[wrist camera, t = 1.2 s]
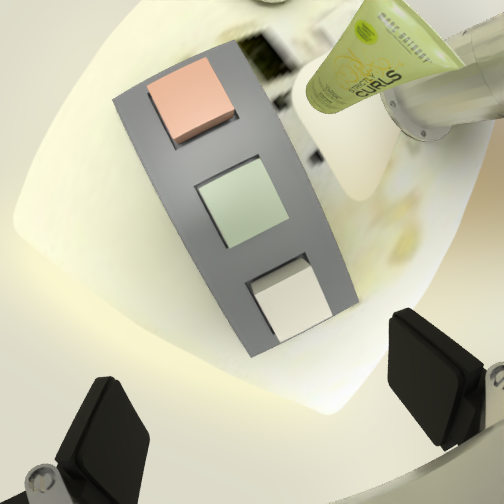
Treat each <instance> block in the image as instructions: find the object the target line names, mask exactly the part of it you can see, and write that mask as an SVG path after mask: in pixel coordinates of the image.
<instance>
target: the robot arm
mask: <svg viewBox="0 0 504 504" xmlns="http://www.w3.org/2000/svg"><path fill="white" fill-rule="evenodd" d="M444 41H445V42H446V43H447V44H448V45H449V46H450V48H451V49H452V50H453V51H454V52H455V53H456V55H457V56H458V57H459V58H460V59H461V60H462V61H463V63H464V64H465V65H466V67H464V68H461V69H459V70H454V71H447V72H443V73H438V74H434V75H430V76H427V77H423V78H420V79H416V80H413V81H410V82H407V83H404V84H401V85H398V86H396V87H393V88H390V89H388V90H385V91H383V92H380V95H381V98H382V101H383V104H384V106H385V108H386V110H387V112H388V114H389V115H390V117H391V118H392V120H393V121H394V122H395V123H396V125H397V126H398V127H399V128H400V129H401V130H402V131H403V132H405V133H406V134H408V135H409V136H411V137H413V138H415V139H417V140H421V141H435V140H439V139H441V138H443V137H444V136H445V135H447V134H448V132H449V131H450V129H451V128H452V125H458V124H464V123H471V122H477V121H484V120H492V119H500V118H504V12H503V13H501V14H499V15H497V16H495V17H493V18H490V19H488V20H486V21H484V22H482V23H479V24H477V25H475V26H473V27H471V28H469V29H466V30H464V31H462V32H460V33H458V34H457V35H454V36H452V37H450V38H448V39H446V40H444ZM483 366H484V364H483V363H482V362H481V361H479V360H478V359H477V358H476V357H474V356H473V355H472V354H470V353H469V352H468V351H467V350H465V349H464V348H462V347H461V346H460V345H459V344H458V343H456V342H455V341H453V340H452V339H451V338H450V337H448V336H447V335H446V334H444V333H443V332H442V331H440V330H439V329H438V328H436V327H435V326H434V325H432V324H431V323H429V322H428V321H427V320H426V319H424V318H423V317H421V316H420V315H419V314H418V313H416V312H415V311H413V310H412V309H411V308H405V309H403V310H400V311H397V312H394V313H393V316H392V318H390V320H389V354H388V383H389V386H390V387H391V389H392V390H393V391H394V393H395V394H396V395H397V396H398V398H399V399H400V400H401V402H402V403H403V404H404V405H405V407H406V408H407V409H408V411H409V412H410V413H411V415H412V416H413V417H414V418H415V420H416V421H417V422H418V424H419V425H420V426H421V428H422V429H423V430H424V432H425V433H426V434H427V436H428V437H429V438H430V440H431V441H432V442H433V444H434V445H436V446H441V447H442V449H443V450H444V451H446V450H448V449H450V448H452V447H453V446H455V445H456V444H458V447H456V448H454V449H452V450H451V451H449V452H447V453H446V454H444V455H442V456H440V457H438V458H436V459H434V460H433V461H431V462H429V463H427V464H425V465H423V466H421V467H419V468H417V469H415V470H413V471H411V472H409V473H407V474H405V475H403V476H401V477H398V478H396V479H394V480H392V481H389V482H387V483H384V484H382V485H380V486H377V487H375V488H372V489H369V490H367V491H364V492H362V493H359V494H356V495H353V496H350V497H347V498H344V499H341V500H338V501H335V502H331V503H328V504H504V362H498V363H496V364H494V365H492V366H491V367H490V368H489V369H488V370H486V369H484V368H483ZM149 442H150V437H149V433H148V431H147V430H146V428H145V426H144V425H143V423H142V421H141V420H140V418H139V416H138V414H137V413H136V411H135V409H134V407H133V406H132V404H131V402H130V400H129V399H128V397H127V395H126V393H125V391H124V389H123V387H122V385H121V383H120V382H119V381H118V380H115V379H114V378H113V377H111V376H109V377H98V378H96V379H95V381H94V383H93V384H92V386H91V388H90V390H89V392H88V394H87V396H86V398H85V399H84V401H83V403H82V405H81V407H80V409H79V411H78V413H77V414H76V416H75V419H74V420H73V422H72V424H71V426H70V428H69V430H68V432H67V434H66V436H65V439H64V440H63V442H62V444H61V446H60V449H59V451H58V453H57V455H56V457H55V460H56V462H57V463H58V465H57V467H55V466H53V465H51V464H41V465H37V466H36V467H34V468H33V469H31V470H30V471H29V473H28V474H27V476H26V478H25V489H26V491H24V492H22V493H20V494H18V495H16V496H14V497H12V498H10V499H8V500H5V501H3V502H1V503H0V504H138V498H139V491H140V487H141V481H142V476H143V471H144V466H145V461H146V456H147V452H148V447H149Z"/></svg>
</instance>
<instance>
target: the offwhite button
mask: <svg viewBox="0 0 504 504" xmlns="http://www.w3.org/2000/svg"><path fill="white" fill-rule="evenodd" d="M251 286H252V289H253V292H254V295H255V297H256V299H257V301H258V303H259V305H260V306H261V308H262V310H263V312H264V314H265V316H266V317H267V319H268V321H269V323H270V325H271V327H272V328H273V330H274V332H275V334H276V336H277V338H278V339H279V341H280V343H281V342H283V341H285V340H287V339H289V338H291V337H293V336H295V335H297V334H299V333H301V332H303V331H305V330H307V329H308V328H310V327H312V326H314V325H316V324H318V323H320V322H322V321H324V320H325V319H327V318H329V317H331V316H333V315H332V313H331V310H330V308H329V306H328V303H327V301H326V299H325V296H324V294H323V292H322V289H321V287H320V285H319V282H318V280H317V278H316V276H315V273H314V271H313V269H312V267H311V265H310V264H309V263H308V262H306V261H305V260H304V259H303V258H302V257H301V258H299V259H297V260H295V261H293V262H291V263H289V264H287V265H285V266H283V267H281V268H279V269H278V270H276V271H274V272H272V273H270V274H268V275H266V276H264V277H262V278H260V279H258V280H256V281H254V282H252V283H251Z"/></svg>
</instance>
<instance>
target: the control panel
mask: <svg viewBox="0 0 504 504" xmlns="http://www.w3.org/2000/svg"><path fill="white" fill-rule="evenodd" d="M205 57H206V58H207V59H208V61H209V63H210V65H211V67H212V68H213V70H214V72H215V74H216V75H217V77H218V79H219V81H220V83H221V85H222V86H223V88H224V90H225V92H226V94H227V96H228V97H229V99H230V101H231V103H232V105H233V107H234V109H235V110H234V115H233V118H231V119H228V120H226V121H224V122H222V123H220V124H218V125H216V126H214V127H212V128H210V129H208V130H206V131H204V132H202V133H200V134H198V135H196V136H194V137H192V138H190V139H188V140H186V141H184V142H182V143H180V144H177V143H176V142H175V141H174V140H173V138H172V136H171V134H170V132H169V130H168V128H167V126H166V124H165V122H164V120H163V118H162V116H161V114H160V112H159V110H158V108H157V106H156V104H155V102H154V100H153V98H152V96H151V94H150V92H149V90H148V88H147V85H149V84H151V83H153V82H155V81H157V80H159V79H160V78H162V77H164V76H166V75H168V74H170V73H172V72H174V71H176V70H178V69H180V68H183V67H185V66H187V65H189V64H191V63H193V62H196V61H198V60H200V59H202V58H205ZM112 101H113V103H114V105H115V107H116V109H117V112H118V114H119V116H120V118H121V120H122V123H123V125H124V127H125V129H126V131H127V133H128V135H129V137H130V140H131V142H132V144H133V146H134V148H135V150H136V152H137V154H138V156H139V158H140V160H141V162H142V164H143V166H144V168H145V170H146V172H147V174H148V176H149V178H150V180H151V182H152V184H153V186H154V188H155V190H156V192H157V194H158V196H159V198H160V200H161V202H162V204H163V206H164V207H165V209H166V211H167V213H168V215H169V217H170V219H171V221H172V223H173V224H174V226H175V228H176V230H177V232H178V234H179V236H180V237H181V239H182V241H183V243H184V245H185V247H186V248H187V250H188V252H189V254H190V256H191V257H192V259H193V261H194V263H195V265H196V266H197V268H198V270H199V272H200V273H201V275H202V277H203V279H204V280H205V282H206V284H207V286H208V287H209V289H210V291H211V293H212V294H213V296H214V298H215V299H216V301H217V303H218V305H219V306H220V308H221V310H222V311H223V313H224V315H225V316H226V318H227V320H228V321H229V323H230V325H231V326H232V328H233V330H234V331H235V333H236V335H237V336H238V338H239V339H240V341H241V343H242V344H243V346H244V347H245V349H246V351H247V352H248V354H249V356H250V357H251V358H252V357H254V356H256V355H258V354H260V353H263V352H265V351H267V350H269V349H271V348H273V347H275V346H277V345H279V344H281V343H283V342H285V341H287V340H289V339H291V338H293V337H295V336H297V335H299V334H301V333H303V332H305V331H307V330H309V329H311V328H313V327H314V326H316V325H318V324H320V323H322V322H324V321H326V320H328V319H329V318H331V317H333V316H335V315H337V314H338V313H340V312H342V311H344V310H346V309H347V308H349V307H351V306H353V305H354V304H356V303H358V302H359V300H358V297H357V294H356V292H355V289H354V286H353V284H352V281H351V278H350V276H349V273H348V270H347V268H346V265H345V263H344V260H343V258H342V255H341V253H340V250H339V248H338V245H337V243H336V240H335V238H334V235H333V233H332V231H331V228H330V226H329V224H328V221H327V219H326V217H325V214H324V212H323V210H322V207H321V205H320V203H319V201H318V198H317V196H316V194H315V192H314V189H313V187H312V185H311V183H310V181H309V179H308V176H307V174H306V172H305V170H304V168H303V166H302V164H301V162H300V159H299V157H298V155H297V153H296V151H295V149H294V147H293V145H292V143H291V141H290V139H289V137H288V135H287V133H286V131H285V129H284V127H283V125H282V123H281V121H280V119H279V118H278V116H277V114H276V112H275V110H274V108H273V106H272V104H271V102H270V101H269V99H268V97H267V95H266V93H265V91H264V90H263V88H262V86H261V84H260V82H259V81H258V79H257V77H256V75H255V74H254V72H253V70H252V68H251V67H250V65H249V63H248V61H247V60H246V58H245V56H244V55H243V53H242V51H241V50H240V48H239V46H238V45H237V43H236V41H235V40H232V41H230V42H227V43H225V44H222V45H219V46H217V47H214V48H212V49H210V50H207V51H205V52H202V53H200V54H198V55H195V56H193V57H191V58H189V59H187V60H184V61H182V62H180V63H178V64H176V65H174V66H172V67H170V68H168V69H166V70H164V71H162V72H160V73H158V74H156V75H154V76H152V77H150V78H149V79H147V80H145V81H143V82H141V83H140V84H138V85H136V86H134V87H132V88H131V89H129V90H127V91H126V92H124V93H122V94H121V95H119V96H117V97H116V98H114V99H113V100H112ZM259 158H260V159H261V161H262V163H263V165H264V167H265V169H266V171H267V173H268V175H269V177H270V179H271V181H272V183H273V185H274V187H275V189H276V191H277V193H278V195H279V197H280V200H281V202H282V204H283V206H284V208H285V210H286V212H287V214H288V216H289V219H287V220H285V221H283V222H281V223H279V224H277V225H275V226H273V227H271V228H269V229H267V230H265V231H263V232H261V233H259V234H257V235H256V236H254V237H252V238H250V239H248V240H246V241H244V242H242V243H240V244H238V245H236V246H234V247H232V248H229V247H228V245H227V243H226V241H225V239H224V237H223V235H222V233H221V231H220V229H219V228H218V226H217V224H216V222H215V220H214V218H213V216H212V214H211V212H210V210H209V208H208V206H207V205H206V203H205V201H204V199H203V197H202V195H201V193H200V191H199V188H201V187H203V186H204V185H206V184H208V183H210V182H212V181H214V180H216V179H218V178H220V177H222V176H224V175H226V174H228V173H230V172H232V171H234V170H236V169H238V168H240V167H242V166H244V165H246V164H248V163H250V162H252V161H255V160H257V159H259ZM301 257H302V258H303V259H304V260H305V261H306V262H308V263H309V264H310V265H311V267H312V269H313V271H314V273H315V276H316V278H317V280H318V282H319V285H320V287H321V289H322V292H323V294H324V296H325V299H326V301H327V303H328V306H329V308H330V310H331V313H332V315H333V316H331V317H329V318H327V319H325V320H324V321H322V322H320V323H318V324H316V325H314V326H312V327H310V328H308V329H307V330H305V331H303V332H301V333H299V334H297V335H295V336H293V337H291V338H289V339H287V340H285V341H283V342H281V343H280V341H279V339H278V338H277V336H276V334H275V332H274V330H273V328H272V327H271V325H270V323H269V321H268V319H267V317H266V316H265V314H264V312H263V310H262V308H261V306H260V305H259V303H258V301H257V299H256V297H255V295H254V292H253V289H252V286H251V283H252V282H254V281H256V280H258V279H260V278H262V277H264V276H266V275H268V274H270V273H272V272H274V271H276V270H278V269H279V268H281V267H283V266H285V265H287V264H289V263H291V262H293V261H295V260H297V259H299V258H301Z"/></svg>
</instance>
